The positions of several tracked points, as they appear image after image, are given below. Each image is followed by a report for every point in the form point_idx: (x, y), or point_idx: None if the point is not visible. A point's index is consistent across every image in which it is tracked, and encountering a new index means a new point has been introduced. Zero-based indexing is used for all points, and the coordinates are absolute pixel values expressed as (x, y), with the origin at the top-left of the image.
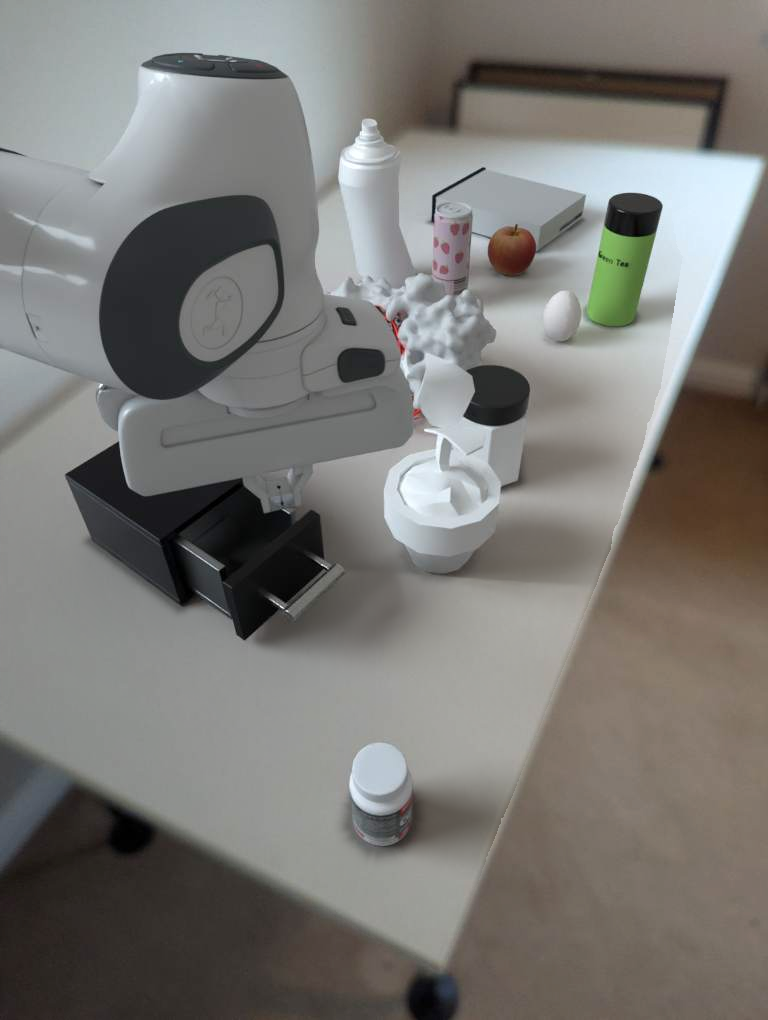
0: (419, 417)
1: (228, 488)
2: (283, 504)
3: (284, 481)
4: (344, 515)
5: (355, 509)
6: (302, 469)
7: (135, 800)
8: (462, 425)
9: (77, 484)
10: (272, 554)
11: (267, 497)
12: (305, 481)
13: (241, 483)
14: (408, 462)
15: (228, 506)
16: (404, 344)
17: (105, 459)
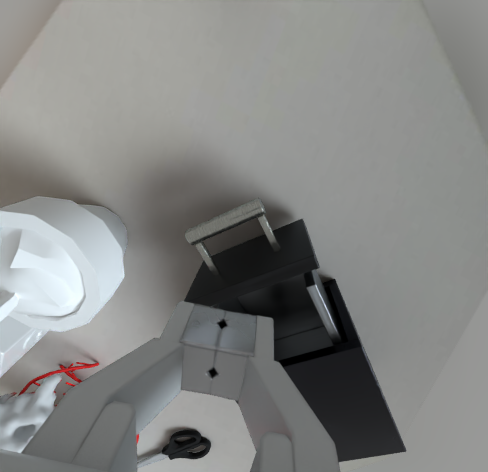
0: (76, 362)
1: None
2: (220, 319)
3: (191, 381)
4: (170, 302)
5: (159, 304)
6: (92, 422)
7: (466, 101)
8: (4, 341)
9: (400, 437)
10: (251, 278)
11: (256, 356)
12: (122, 362)
13: None
14: (64, 323)
15: None
16: None
17: (362, 450)
